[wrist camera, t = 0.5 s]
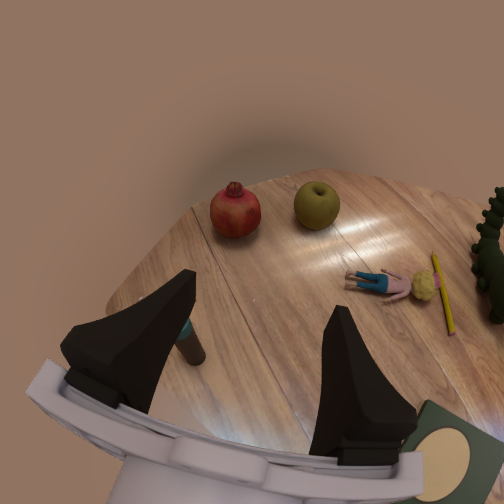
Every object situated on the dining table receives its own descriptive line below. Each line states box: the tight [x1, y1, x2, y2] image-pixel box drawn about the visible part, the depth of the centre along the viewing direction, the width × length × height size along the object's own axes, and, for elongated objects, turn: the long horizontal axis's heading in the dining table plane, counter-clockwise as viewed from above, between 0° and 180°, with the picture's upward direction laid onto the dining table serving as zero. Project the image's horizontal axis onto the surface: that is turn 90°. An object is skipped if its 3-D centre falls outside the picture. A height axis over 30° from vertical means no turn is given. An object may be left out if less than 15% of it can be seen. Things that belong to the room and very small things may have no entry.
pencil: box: [432, 251, 455, 336], centre depth 37 cm, size 16×1×1 cm, turn 170°
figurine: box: [345, 269, 441, 303], centre depth 37 cm, size 6×4×15 cm
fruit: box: [210, 182, 261, 238], centre depth 43 cm, size 8×8×10 cm
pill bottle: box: [175, 318, 205, 366], centre depth 29 cm, size 3×3×10 cm
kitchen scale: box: [390, 399, 504, 504], centre depth 19 cm, size 20×14×1 cm
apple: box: [294, 182, 340, 230], centre depth 45 cm, size 8×8×7 cm
